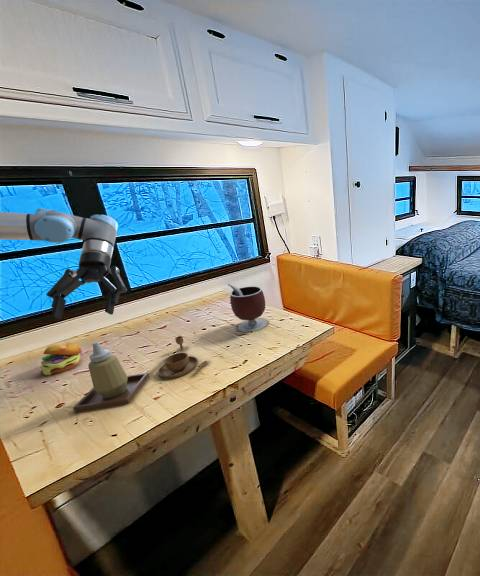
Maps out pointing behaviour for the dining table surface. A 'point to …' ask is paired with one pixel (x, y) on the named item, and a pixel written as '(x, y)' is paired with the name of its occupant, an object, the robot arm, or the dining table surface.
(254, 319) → the mate gourd
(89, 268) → the robot arm
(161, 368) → the place setting
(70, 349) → the cheeseburger
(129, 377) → the dark brown tray
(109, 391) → the squeeze bottle
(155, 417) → the dining table surface
